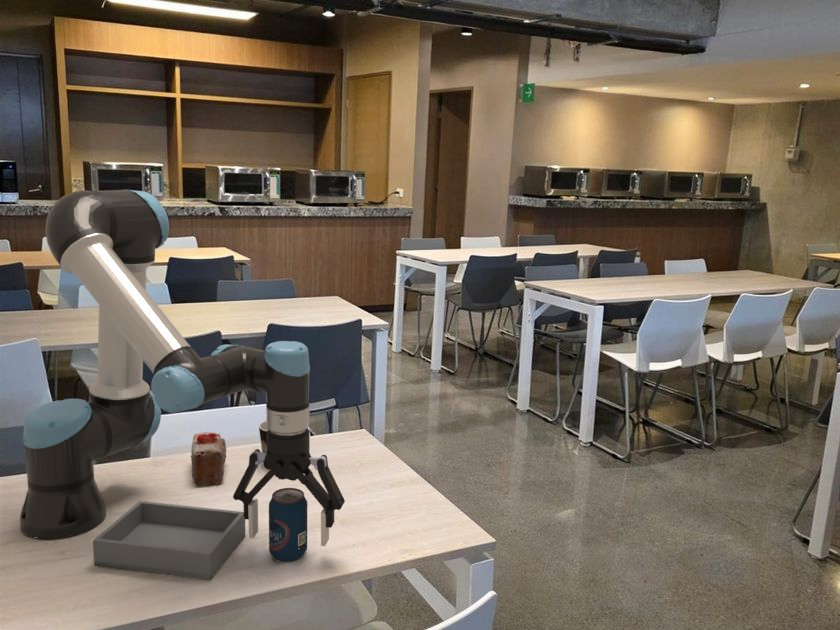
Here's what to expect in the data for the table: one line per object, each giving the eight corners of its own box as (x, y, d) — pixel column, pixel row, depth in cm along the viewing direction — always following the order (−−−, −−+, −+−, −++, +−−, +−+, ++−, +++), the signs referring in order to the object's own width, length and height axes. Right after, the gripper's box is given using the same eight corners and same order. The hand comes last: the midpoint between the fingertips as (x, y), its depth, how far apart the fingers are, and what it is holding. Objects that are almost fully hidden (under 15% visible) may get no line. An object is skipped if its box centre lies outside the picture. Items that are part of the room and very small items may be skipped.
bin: (94, 566, 127) (92, 540, 126) (140, 524, 142) (139, 500, 141) (210, 580, 124) (209, 553, 123) (245, 536, 139) (245, 512, 138)
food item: (190, 464, 171) (189, 425, 169) (225, 461, 173) (224, 422, 171) (191, 489, 158) (190, 446, 156) (229, 485, 161) (228, 443, 159)
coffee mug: (257, 459, 175) (257, 420, 173) (293, 456, 177) (293, 418, 175) (262, 479, 164) (261, 437, 162) (300, 475, 167) (300, 435, 165)
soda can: (261, 556, 132) (260, 495, 129) (287, 541, 137) (287, 482, 135) (288, 569, 128) (288, 506, 126) (315, 553, 134) (315, 493, 131)
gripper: (212, 430, 126) (215, 541, 130) (351, 442, 122) (350, 556, 127) (229, 416, 133) (232, 522, 137) (361, 427, 130) (360, 535, 134)
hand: (289, 538), depth 132 cm, fingers open, 13 cm apart
